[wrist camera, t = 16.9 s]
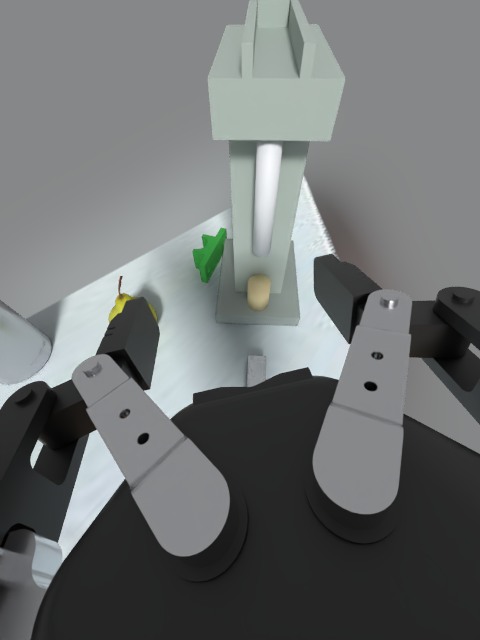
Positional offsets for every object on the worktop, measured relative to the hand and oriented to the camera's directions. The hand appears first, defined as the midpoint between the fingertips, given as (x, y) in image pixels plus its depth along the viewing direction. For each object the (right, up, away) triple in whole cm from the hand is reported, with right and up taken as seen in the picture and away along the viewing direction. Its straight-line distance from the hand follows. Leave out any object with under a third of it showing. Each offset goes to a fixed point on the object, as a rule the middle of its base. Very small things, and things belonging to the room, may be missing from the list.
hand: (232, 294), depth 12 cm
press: (+4, +6, +38) cm, 38 cm away
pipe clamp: (-6, +11, +42) cm, 44 cm away
